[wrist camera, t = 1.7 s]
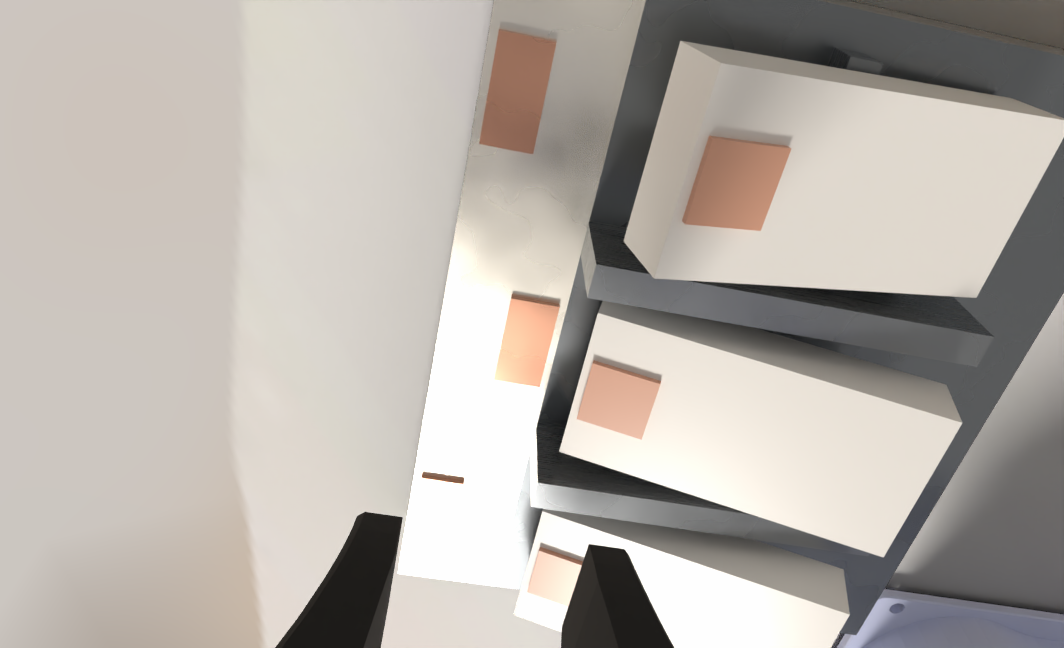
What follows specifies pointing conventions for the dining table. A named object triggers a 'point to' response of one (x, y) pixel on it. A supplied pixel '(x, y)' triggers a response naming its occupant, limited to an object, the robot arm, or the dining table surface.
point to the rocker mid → (759, 423)
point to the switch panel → (618, 276)
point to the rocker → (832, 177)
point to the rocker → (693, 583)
